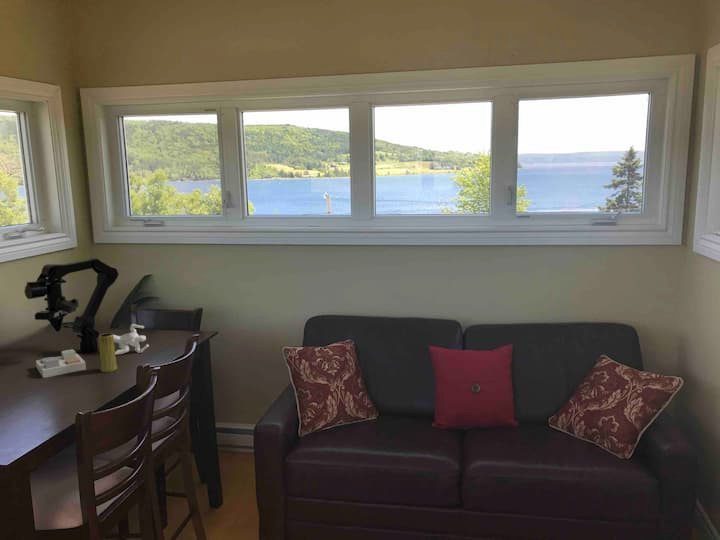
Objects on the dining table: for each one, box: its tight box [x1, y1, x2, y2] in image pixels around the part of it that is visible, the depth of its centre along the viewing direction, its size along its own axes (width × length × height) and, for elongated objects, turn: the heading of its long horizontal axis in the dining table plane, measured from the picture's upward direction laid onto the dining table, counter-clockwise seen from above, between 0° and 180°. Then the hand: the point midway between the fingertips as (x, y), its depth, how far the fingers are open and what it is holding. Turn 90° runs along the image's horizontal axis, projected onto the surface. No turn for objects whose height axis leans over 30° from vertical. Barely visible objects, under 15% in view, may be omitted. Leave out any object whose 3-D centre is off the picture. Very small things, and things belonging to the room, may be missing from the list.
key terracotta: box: [65, 357, 80, 365], centre depth 223 cm, size 4×4×3 cm
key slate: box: [40, 356, 54, 364], centre depth 225 cm, size 4×4×3 cm
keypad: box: [35, 352, 87, 379], centre depth 224 cm, size 15×15×3 cm
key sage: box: [60, 348, 76, 360], centre depth 229 cm, size 4×4×3 cm
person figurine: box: [113, 323, 149, 356], centre depth 245 cm, size 13×13×18 cm
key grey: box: [44, 356, 59, 369], centre depth 219 cm, size 4×4×3 cm
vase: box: [98, 332, 118, 373], centre depth 221 cm, size 6×6×14 cm
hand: (58, 331), depth 235 cm, fingers closed
